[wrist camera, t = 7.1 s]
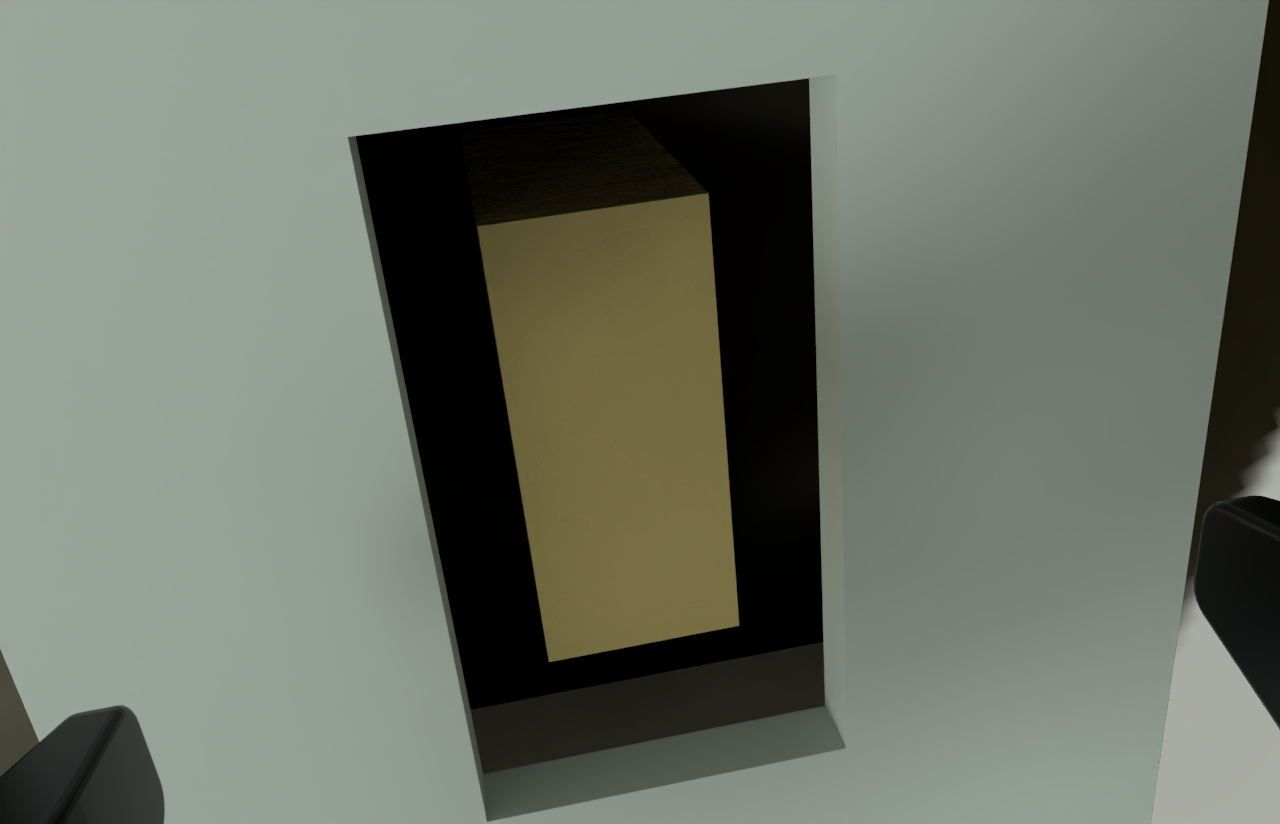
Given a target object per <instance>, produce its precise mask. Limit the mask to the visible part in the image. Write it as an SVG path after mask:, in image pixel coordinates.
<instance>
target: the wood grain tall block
mask: <svg viewBox="0 0 1280 824" xmlns="http://www.w3.org/2000/svg"><path fill="white" fill-rule="evenodd" d="M460 136H461V142H462V148H463V154H464V160H465V166H466V172H467V179H468V185H469V191H470V197H471V203H472V209H473V215H474V221H475V227H476V233H477V239H478V245H479V251H480V257H481V263H482V269H483V275H484V281H485V287H486V293H487V299H488V305H489V311H490V317H491V323H492V330H493V336H494V342H495V348H496V354H497V360H498V366H499V372H500V378H501V384H502V390H503V396H504V402H505V408H506V414H507V420H508V426H509V432H510V438H511V444H512V450H513V456H514V462H515V468H516V474H517V480H518V486H519V492H520V498H521V503H522V509H523V515H524V521H525V527H526V532H527V538H528V544H529V550H530V555H531V561H532V567H533V573H534V579H535V584H536V590H537V596H538V602H539V607H540V613H541V619H542V625H543V631H544V636H545V642H546V648H547V654H548V660H549V662H553V661H558V660H563V659H569V658H574V657H579V656H584V655H589V654H595V653H600V652H605V651H610V650H615V649H621V648H626V647H631V646H636V645H641V644H647V643H652V642H657V641H662V640H667V639H673V638H678V637H683V636H688V635H693V634H699V633H704V632H709V631H714V630H719V629H724V628H730V627H735V626H739V614H738V600H737V586H736V572H735V558H734V544H733V530H732V516H731V502H730V488H729V474H728V460H727V446H726V432H725V418H724V404H723V390H722V376H721V362H720V348H719V334H718V320H717V306H716V292H715V278H714V264H713V250H712V236H711V222H710V208H709V194H708V192H707V191H706V190H705V189H704V188H703V187H702V186H701V185H700V184H699V183H698V182H697V181H696V180H695V179H694V178H693V177H692V176H691V175H690V174H689V173H688V172H687V171H686V170H685V169H684V167H683V166H682V165H681V164H680V163H679V162H678V161H677V160H676V159H675V158H674V157H673V156H672V155H671V154H670V153H669V152H668V151H667V150H666V149H665V148H664V147H663V146H662V145H661V144H660V143H659V142H658V141H657V140H656V139H655V138H654V137H653V136H652V135H651V134H650V132H649V131H648V130H647V129H646V128H645V127H644V126H643V125H642V124H641V123H640V122H639V121H638V120H637V119H636V118H635V117H634V116H633V115H632V114H631V113H630V112H629V111H628V110H624V111H616V112H609V113H601V114H594V115H586V116H579V117H571V118H564V119H557V120H549V121H542V122H534V123H527V124H519V125H512V126H504V127H497V128H490V129H482V130H475V131H467V132H460Z"/></svg>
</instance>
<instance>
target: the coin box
mask: <svg viewBox="0 0 1280 824" xmlns="http://www.w3.org/2000/svg"><path fill="white" fill-rule="evenodd" d="M1268 3H1269V0H0V649H1V651H2V654H3V656H4V659H5V661H6V663H7V666H8V668H9V671H10V673H11V675H12V678H13V680H14V682H15V685H16V687H17V690H18V692H19V694H20V697H21V699H22V702H23V704H24V706H25V709H26V711H27V713H28V716H29V718H30V721H31V723H32V725H33V728H34V730H35V733H36V735H37V737H38V740H39V742H40V741H41V740H42V739H44V738H45V737H46V736H47V735H48V734H49V733H50V732H51V731H53V730H54V729H55V728H56V727H57V726H58V725H59V724H61V723H62V722H63V721H64V720H65V719H67V718H68V717H69V716H71V715H73V714H75V713H79V712H84V711H89V710H95V709H100V708H106V707H111V706H117V705H124V706H126V707H128V708H130V709H131V710H132V711H133V713H134V714H135V715H136V717H137V719H138V721H139V724H140V727H141V729H142V732H143V735H144V738H145V740H146V743H147V746H148V748H149V751H150V754H151V757H152V759H153V762H154V765H155V767H156V770H157V773H158V776H159V778H160V781H161V784H162V789H163V793H164V802H165V816H164V824H1151V819H1152V812H1153V805H1154V798H1155V790H1156V784H1157V777H1158V770H1159V764H1160V756H1161V750H1162V743H1163V735H1164V728H1165V720H1166V714H1167V708H1168V701H1169V694H1170V686H1171V679H1172V673H1173V666H1174V659H1175V652H1176V645H1177V638H1178V631H1179V624H1180V617H1181V610H1182V603H1183V596H1184V589H1185V582H1186V575H1187V568H1188V561H1189V554H1190V547H1191V540H1192V533H1193V526H1194V519H1195V512H1196V505H1197V499H1198V492H1199V485H1200V478H1201V471H1202V464H1203V457H1204V450H1205V443H1206V436H1207V429H1208V422H1209V415H1210V408H1211V401H1212V394H1213V387H1214V380H1215V373H1216V366H1217V359H1218V352H1219V345H1220V338H1221V331H1222V324H1223V317H1224V310H1225V303H1226V296H1227V289H1228V282H1229V275H1230V268H1231V261H1232V254H1233V247H1234V240H1235V234H1236V227H1237V220H1238V213H1239V206H1240V199H1241V192H1242V185H1243V178H1244V171H1245V164H1246V157H1247V150H1248V143H1249V136H1250V129H1251V122H1252V115H1253V108H1254V101H1255V94H1256V87H1257V80H1258V73H1259V66H1260V59H1261V52H1262V45H1263V38H1264V31H1265V24H1266V17H1267V10H1268ZM807 78H809V92H810V132H811V171H812V211H813V250H814V290H815V329H816V369H817V408H818V447H819V487H820V526H821V566H822V605H823V642H820V643H815V644H810V645H805V646H800V647H794V648H789V649H784V650H779V651H774V652H768V653H763V654H758V655H753V656H748V657H742V658H737V659H732V660H727V661H722V662H716V663H711V664H706V665H701V666H696V667H690V668H685V669H680V670H675V671H670V672H664V673H659V674H654V675H649V676H644V677H638V678H633V679H628V680H623V681H618V682H612V683H607V684H602V685H597V686H592V687H586V688H581V689H576V690H571V691H566V692H560V693H555V694H550V695H545V696H540V697H534V698H529V699H524V700H519V701H514V702H508V703H503V704H498V705H493V706H488V707H482V708H477V709H472V710H470V705H469V700H468V695H467V690H466V685H465V680H464V675H463V670H462V665H461V660H460V655H459V650H458V645H457V640H456V635H455V630H454V625H453V620H452V615H451V610H450V605H449V600H448V595H447V591H446V586H445V581H444V576H443V571H442V566H441V561H440V556H439V551H438V546H437V541H436V536H435V531H434V526H433V521H432V516H431V511H430V506H429V501H428V496H427V491H426V486H425V481H424V476H423V471H422V466H421V461H420V456H419V451H418V446H417V441H416V436H415V431H414V426H413V421H412V416H411V411H410V406H409V401H408V396H407V391H406V386H405V381H404V376H403V371H402V366H401V361H400V356H399V351H398V346H397V341H396V336H395V331H394V326H393V321H392V316H391V311H390V306H389V301H388V296H387V291H386V286H385V281H384V276H383V271H382V266H381V261H380V256H379V251H378V246H377V241H376V236H375V231H374V226H373V221H372V216H371V211H370V206H369V201H368V196H367V191H366V186H365V181H364V176H363V171H362V166H361V161H360V156H359V151H358V146H357V141H356V136H360V135H368V134H376V133H383V132H391V131H399V130H407V129H415V128H423V127H431V126H438V125H446V124H454V123H462V122H470V121H478V120H485V119H493V118H501V117H509V116H517V115H525V114H532V113H540V112H548V111H556V110H564V109H572V108H579V107H587V106H595V105H603V104H611V103H619V102H627V101H634V100H642V99H650V98H658V97H666V96H674V95H681V94H689V93H697V92H705V91H713V90H721V89H728V88H736V87H744V86H752V85H760V84H768V83H775V82H783V81H791V80H799V79H807Z"/></svg>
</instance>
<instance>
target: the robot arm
mask: <svg viewBox="0 0 1280 824" xmlns="http://www.w3.org/2000/svg"><path fill="white" fill-rule="evenodd" d="M1194 592H1195V596H1196V600H1197V603H1198V605H1199V608H1200V609H1201V611H1202V613H1203V615H1204V616H1205V618H1206V619H1207V621H1208V622H1209V623H1210V625H1211V627H1212V628H1213V630H1214V631H1215V633H1216V634H1217V636H1218V637H1219V638H1220V640H1221V642H1222V643H1223V645H1224V646H1225V648H1226V649H1227V651H1228V652H1229V654H1230V655H1231V657H1232V658H1233V660H1234V661H1235V663H1236V664H1237V666H1238V667H1239V669H1240V670H1241V672H1242V673H1243V675H1244V676H1245V678H1246V679H1247V681H1248V682H1249V684H1250V685H1251V687H1252V688H1253V690H1254V691H1255V693H1256V694H1257V696H1258V697H1259V699H1260V700H1261V702H1262V703H1263V705H1264V706H1265V708H1266V709H1267V711H1268V712H1269V714H1270V715H1271V717H1272V718H1273V720H1274V721H1275V723H1276V724H1277V726H1278V727H1279V729H1280V501H1278V500H1274V499H1270V498H1267V497H1263V496H1247V497H1242V498H1236V499H1231V500H1226V501H1220V502H1216V503H1214V504H1213V505H1211V506H1210V507H1209V508H1208V509H1207V511H1206V513H1205V514H1204V517H1203V522H1202V528H1201V535H1200V542H1199V549H1198V555H1197V562H1196V569H1195V576H1194ZM164 816H165V802H164V793H163V789H162V784H161V781H160V778H159V776H158V773H157V770H156V767H155V765H154V762H153V759H152V757H151V754H150V751H149V748H148V746H147V743H146V740H145V738H144V735H143V732H142V729H141V727H140V724H139V721H138V719H137V717H136V715H135V714H134V713H133V711H132V710H131V709H130V708H128V707H126V706H124V705H117V706H111V707H106V708H100V709H95V710H89V711H84V712H79V713H75V714H73V715H71V716H69V717H68V718H67V719H65V720H64V721H63V722H62V723H61V724H59V725H58V726H57V727H56V728H55V729H54V730H53V731H51V732H50V733H49V734H48V735H47V736H46V737H45V738H44V739H42V740H41V741H40V742H39V743H38V744H37V745H36V746H35V747H33V748H32V749H31V750H30V751H29V752H28V753H27V754H26V755H24V756H23V757H22V758H21V759H20V760H19V761H18V762H17V763H15V764H14V765H13V766H12V767H11V768H10V769H9V770H7V771H6V772H5V773H4V774H3V775H2V776H1V777H0V824H164Z"/></svg>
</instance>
